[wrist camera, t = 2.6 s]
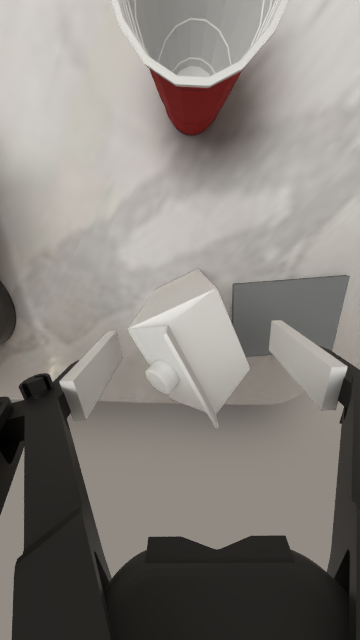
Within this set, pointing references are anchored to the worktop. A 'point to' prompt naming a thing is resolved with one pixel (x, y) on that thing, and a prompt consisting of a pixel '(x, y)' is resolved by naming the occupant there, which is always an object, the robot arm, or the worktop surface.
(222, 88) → the plastic cup
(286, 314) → the gray mat
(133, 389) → the worktop surface
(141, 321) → the milk carton
